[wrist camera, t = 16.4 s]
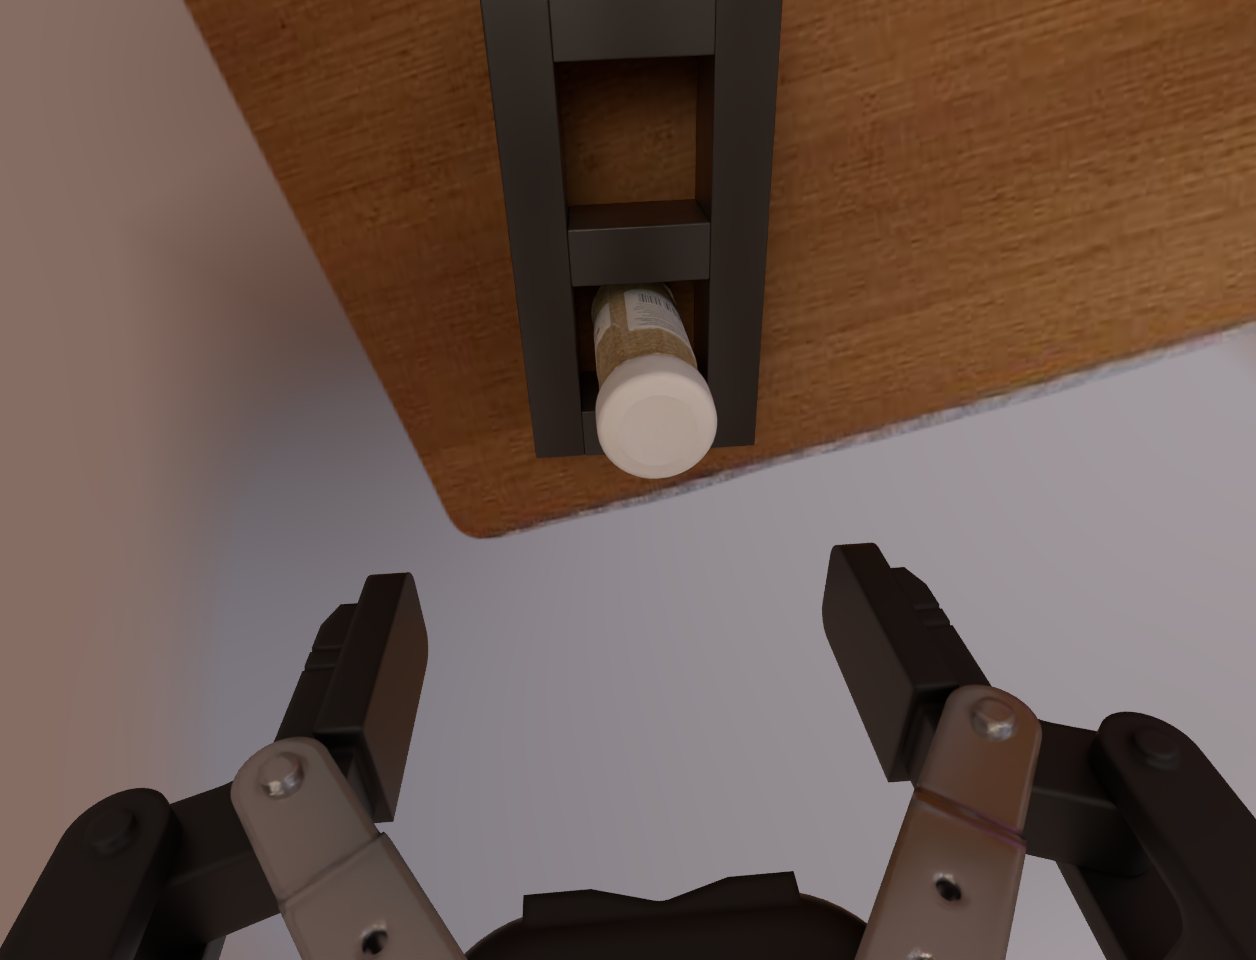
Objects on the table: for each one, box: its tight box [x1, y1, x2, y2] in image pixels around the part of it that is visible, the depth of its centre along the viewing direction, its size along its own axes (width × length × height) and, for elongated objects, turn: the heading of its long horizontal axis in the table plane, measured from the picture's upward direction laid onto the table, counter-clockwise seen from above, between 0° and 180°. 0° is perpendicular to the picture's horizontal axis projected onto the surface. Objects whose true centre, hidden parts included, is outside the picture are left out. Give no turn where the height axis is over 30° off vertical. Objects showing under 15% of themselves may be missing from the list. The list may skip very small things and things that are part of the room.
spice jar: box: [591, 282, 717, 479], centre depth 32 cm, size 5×5×14 cm
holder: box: [480, 0, 782, 458], centre depth 34 cm, size 11×20×5 cm, turn 2°
